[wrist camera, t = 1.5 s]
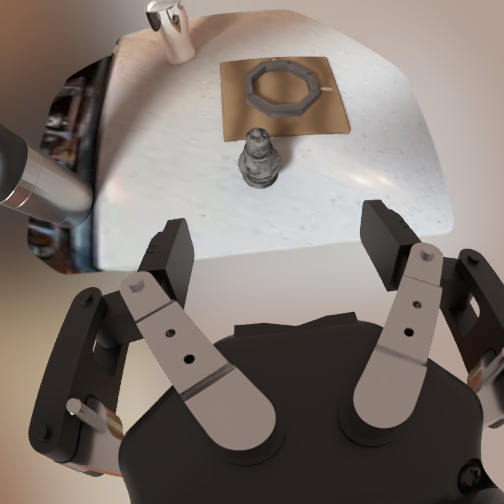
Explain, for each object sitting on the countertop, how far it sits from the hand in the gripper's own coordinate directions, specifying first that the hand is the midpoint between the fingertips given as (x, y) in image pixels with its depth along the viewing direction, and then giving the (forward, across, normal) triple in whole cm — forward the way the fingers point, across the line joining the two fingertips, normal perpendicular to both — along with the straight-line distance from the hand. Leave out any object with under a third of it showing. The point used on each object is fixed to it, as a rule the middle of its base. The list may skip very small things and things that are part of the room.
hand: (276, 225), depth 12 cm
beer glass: (+50, +13, -13) cm, 54 cm away
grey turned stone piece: (+29, 0, +9) cm, 30 cm away
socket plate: (+40, -5, -2) cm, 40 cm away
